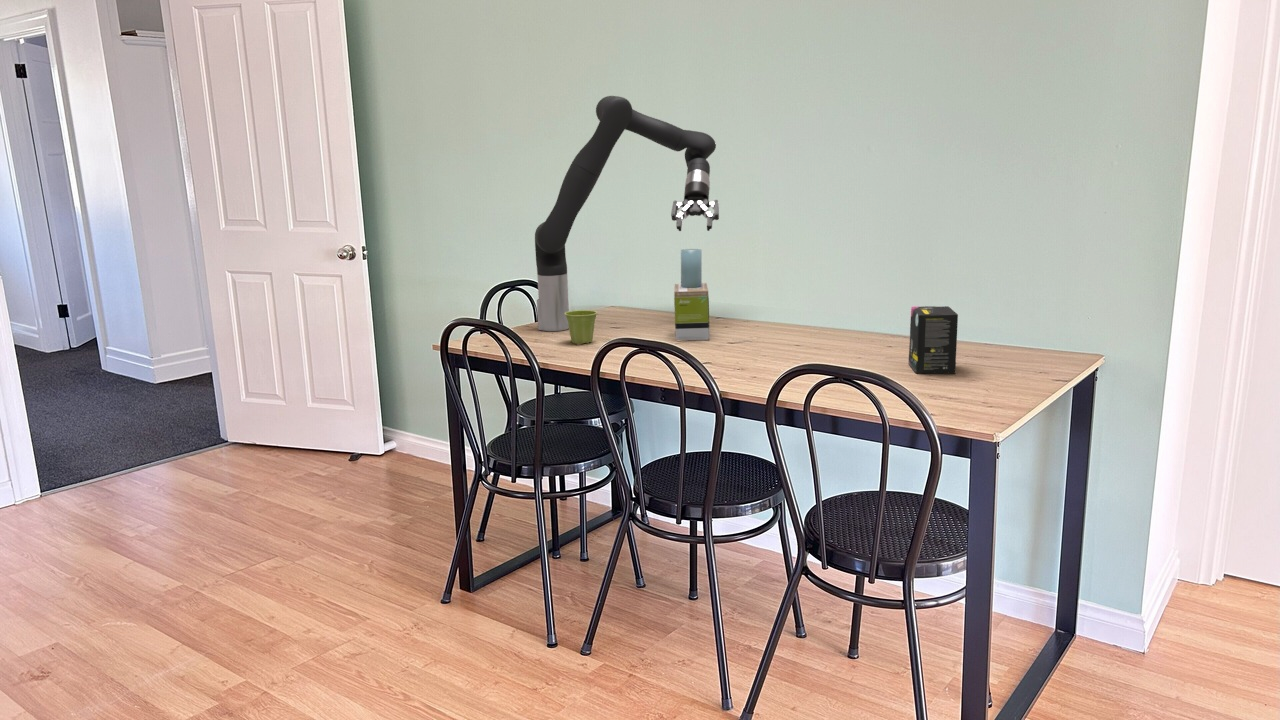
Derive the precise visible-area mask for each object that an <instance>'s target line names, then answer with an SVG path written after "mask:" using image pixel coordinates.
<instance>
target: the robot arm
mask: <svg viewBox="0 0 1280 720" xmlns="http://www.w3.org/2000/svg"><path fill="white" fill-rule="evenodd" d="M595 114H596V115H595V116H596V117H597V119H598V121H599V123H598V125H597V127H596V129H595V131H594V132H593V135H592V136H591V137H590V139H589V140H588V141H587V142H586V143H585V145H584V146H582V148H580V150H579V151H578V152H577V154H576V155H575V156H574V157H573V158H574V159H573V160H572V162H571V164H570V165H569V167H568V170H567V172H566V173H565V176H564V178H563V181H562V183H561V186H560V189H559V192H558V196H557V199H556V202H555V204H554V206H553V208H552V210H551V211H550V212H549V215H548V216H547V218H546V219H545V221H544V222H542V223H539V225H538V226H537V227H536V229H535V231H534V248H535V249H534V250H535V263H536V264H535V265H536V272H537V273H536V274H537V291H538V293H537V295H538V299H537V300H536V312H537V328H538V329H537V330H538V331H544V332H560V331H567V330H569V325H568V320H567V318H566V315H565V312H569V311H570V303H569V285H568V282H569V281H568V265H567V260H566V259H567V256H566V243H567V240H568V237H569V235H570V232H571V229H572V227H573V225H574V223H575V220H576V218H577V216H578V214H579V212H580V211H581V209H582V208H583V206H584V205H585V203H586V202H587V200H588V198H589V196H590V195H591V193H592V191H593V190H594V188H595V186H596V184H597V182H598V179H599V178H600V176H601V173H602V171H604V170H603V169H604V168H605V166H606V164H607V162H608V160H609V157H610V155H611V153H612V151H613V149H614V147H615V145H616V143H617V142H618V140H619V139H620V137H621V136H622V134H623V133H624V131H628V132H632V133H634V134H636V135H638V136H641V137H644V138H645V139H648V140H650V141H652V142H654V143H656V144H658V145H660V146H662V147H665V148H667V149H670V150H672V151H674V152H681V151H683V150H685V151H684V161H685V163H686V168H687V171H686V178H685V182H684V183H685V184H684V193H683V194H684V195H683V201H682V202H678V201H677V200H673V202H672V206H671V207H672V208H671V212H670V215H671V221H673V222H675V221H676V222H675V223H676V224H675V225H676V230H678V231H679V232H682V225H683V221H684V220H685V219H687V218H688V217H689V216H690V217H693V216H696V217H697V216H698V217H700V216H703V217H704V218H705V219H706V231H708V232H710V230H712V228H713V221H719V219H720V210H719V209H720V207H719V205H720V203H719V200H718V199H715V200H713V201H709V199H710V190H711V187H710V186H711V185H710V183H711V182H710V174H711V166H710V162H709V161H708V160H707V159H709V158H710V156H711V155H712V154H713V153H714V152H715V150H716V147H717V143H716V141H715V139H714V138H713V137H712V136H711V135H710V134H709V133H705V132H702V131H695V130H690V129H689V130H688V129H683V128H680V127H678V126H676V125H673V124H672V123H669V122H667V121H664V120H662V119H658V118H655V117H652V116H649V115H646V114H644V113H641V112H640V111H637V110H635V109H634V108H633V106H632V104H631V102H630V101H629V100H628V99H627V98H625V97H622V96H619V95H618V96H617V95H607V96H605V97H602V98H601V99H600V100H599V101H598V102H597V104H596V107H595ZM715 143H716V144H715ZM710 207H711V209H712V210H714V213H711V211H710ZM678 211H679V212H678Z"/></svg>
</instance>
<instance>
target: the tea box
mask: <svg viewBox="0 0 1280 720" xmlns="http://www.w3.org/2000/svg"><path fill="white" fill-rule="evenodd" d="M673 297H674V298H673V299H674V300H673V301H674V328H675V329H674V330H675V333H674V334H675V341H676V340H697V341H709V340H710V300H709V299H710V298H709V289H708V284H707V282H702V286H701V287H693V288H688V287H681V283H675V284H674V293H673Z"/></svg>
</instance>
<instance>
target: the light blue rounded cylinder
mask: <svg viewBox="0 0 1280 720" xmlns="http://www.w3.org/2000/svg"><path fill="white" fill-rule="evenodd" d="M702 258H703V257H702V249H700V248H699V249H698V248H685V249H680V284H681V287H688V288H693V287H701V286H702V283H703V282H702V280H703V279H702V275H703V274H702V271H703V270H702V264H703V263H702Z"/></svg>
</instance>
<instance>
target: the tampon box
mask: <svg viewBox="0 0 1280 720" xmlns="http://www.w3.org/2000/svg"><path fill="white" fill-rule="evenodd" d="M910 308H911V309H910V310H911V311H910V322H909V323H910V327H909V345H908V346H909V347H908V349H909V350H908V365H909V366H910V368H911V369H912V370H913V372H914V373H915V374H916V375H919V374H921V375H924V373H925V375H926V374H927V375H932V374H934V375H935V374H937V375H940V374H941V375H942V374H944V375H956V368H957V367H956V366H957V361H956V360H957V345H958V344H957V343H958V319H959V318H958V317H959V315H958V313H957V312H956V311H955V310H954V309H952V307H950V306H935V305H934V306H929V305H928V306H926V305H925V306H911V307H910ZM917 373H918V374H917ZM922 373H923V374H922Z"/></svg>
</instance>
